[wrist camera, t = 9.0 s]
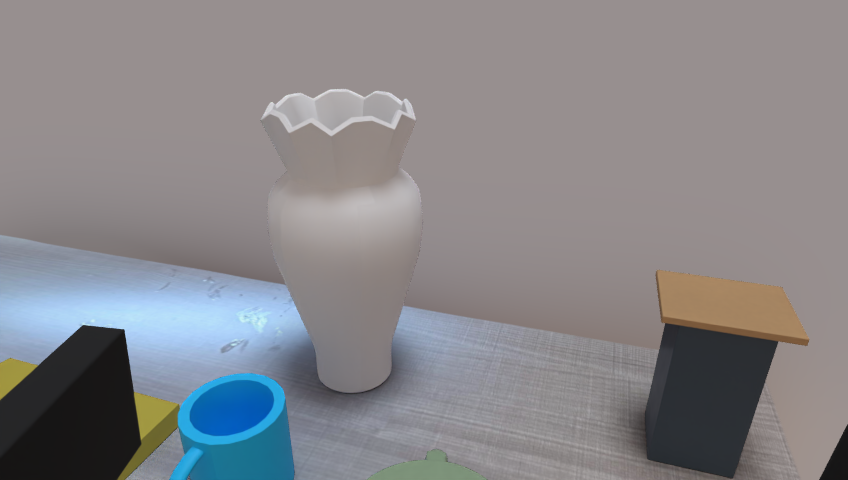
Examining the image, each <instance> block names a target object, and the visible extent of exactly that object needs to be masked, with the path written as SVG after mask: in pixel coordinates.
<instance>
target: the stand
mask: <svg viewBox="0 0 848 480" xmlns="http://www.w3.org/2000/svg"><path fill="white" fill-rule="evenodd" d="M656 281H657V290H658V298H659V306H660V314H661V322H662V323H665V327H664V332H663V336H662V341H661V345H660V349H659V354H658V358H657V363H656V367H655V372H654V376H653V380H652V385H651V389H650V394H649V398H648V403H647V407H646V411H645V426H646V443H647V459H649V460H654V461H658V462H663V463H667V464H672V465H676V466H680V467H685V468H689V469H694V470H698V471H703V472H707V473H712V474H716V475H721V476H725V477H730V478H733V477H734V474H735V471H736V468H737V465H738V462H739V459H740V456H741V453H742V450H743V447H744V444H745V441H746V438H747V435H748V432H749V429H750V426H751V423H752V420H753V416H754V413H755V410H756V407H757V404H758V401H759V398H760V395H761V392H762V389H763V386H764V383H765V380H766V377H767V374H768V371H769V368H770V365H771V362H772V359H773V356H774V353H775V350H776V347H777V344H778V341H780V342H787V343H792V344H798V345H805V346H807V345H808V342H809V338H808V336H807V334H806V332H805V331H804V328H803V326H802V325H801V323H800V321H799V319H798V317H797V315H796V313H795V311H794V309H793V307H792V305H791V303H790V302H789V300H788V298H787V296H786V294H785V292H784V290H783V288H782V287H778V286H771V285H763V284H756V283H748V282H742V281H734V280H727V279H720V278H712V277H706V276H699V275H691V274H684V273H677V272H670V271H662V270H657V271H656Z"/></svg>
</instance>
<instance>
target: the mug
mask: <svg viewBox="0 0 848 480" xmlns="http://www.w3.org/2000/svg"><path fill="white" fill-rule="evenodd" d="M178 428H179V432H180V436H181V441H182V445H183V449H184V453H185V455H184V456H183V458H182V459H181V461H180V462H179V464H178V465H177V467H176V468H175V469H174V471H173V473H172V475H171V477H170V479H169V480H187V478H188V476H189V475H190V479H191V480H293V479H294V473H295V472H294V464H293V456H292V448H291V440H290V432H289V424H288V416H287V408H286V400H285V395H284V391H283V389H282V387H281V386H280V385H279V384H278V383H277V382H276V381H275V380H273V379H271V378H269V377H267V376H263V375H258V374H253V373H246V374H233V375H229V376H224V377H220V378H218V379H215V380H213V381H211V382H208V383H206V384H204V385H203V386H201V387H200V388H198V389H197V390H195V391H194V392H192V394H191V395H190V396H189V397H188V398H187V399H186V400H185V401H184V402H183V404H182V406H181V408H180V410H179V412H178Z"/></svg>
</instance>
